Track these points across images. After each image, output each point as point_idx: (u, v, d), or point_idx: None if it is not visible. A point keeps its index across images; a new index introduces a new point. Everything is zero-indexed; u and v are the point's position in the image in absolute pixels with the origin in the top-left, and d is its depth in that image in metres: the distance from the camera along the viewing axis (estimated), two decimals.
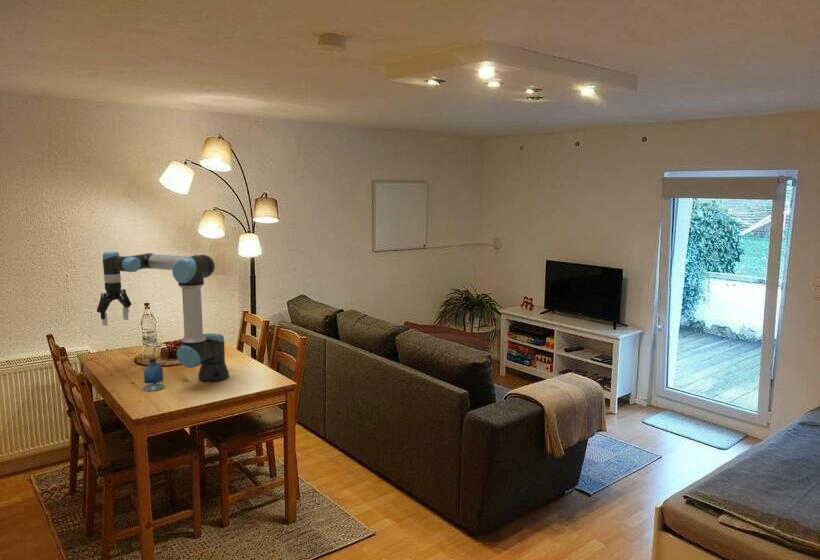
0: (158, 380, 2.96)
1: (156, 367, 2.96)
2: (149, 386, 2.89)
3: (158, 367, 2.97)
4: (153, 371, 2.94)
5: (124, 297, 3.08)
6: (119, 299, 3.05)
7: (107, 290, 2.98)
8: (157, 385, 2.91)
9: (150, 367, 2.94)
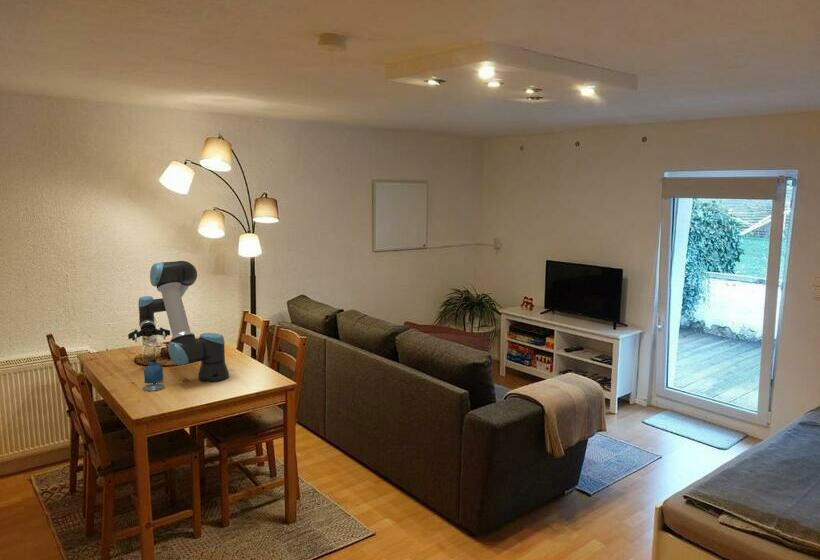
0: (158, 380, 2.96)
1: (156, 367, 2.96)
2: (149, 386, 2.89)
3: (158, 367, 2.97)
4: (153, 371, 2.94)
5: (162, 331, 3.16)
6: (155, 332, 3.14)
7: (140, 330, 3.17)
8: (157, 385, 2.91)
9: (150, 367, 2.94)
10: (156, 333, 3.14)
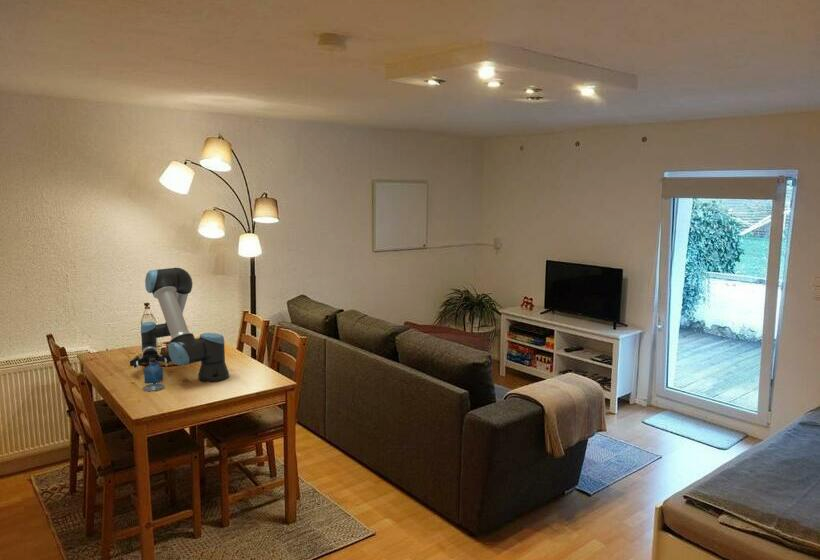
0: (158, 380, 2.96)
1: (156, 367, 2.96)
2: (149, 386, 2.89)
3: (158, 367, 2.97)
4: (153, 371, 2.94)
5: None
6: (157, 358, 3.13)
7: None
8: (157, 385, 2.91)
9: (150, 367, 2.94)
10: (158, 359, 3.13)
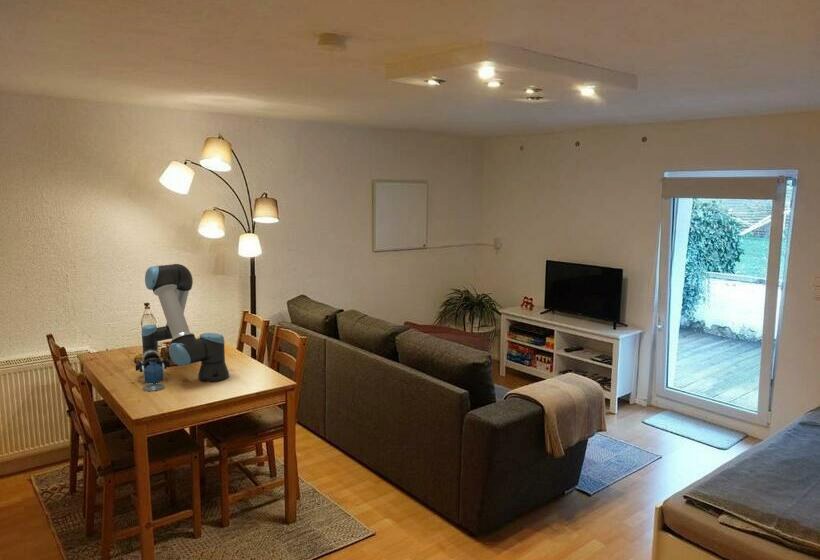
0: (158, 380, 2.96)
1: (156, 367, 2.96)
2: (149, 386, 2.89)
3: (158, 367, 2.97)
4: (153, 371, 2.94)
5: (164, 362, 3.06)
6: (157, 362, 3.05)
7: (143, 361, 3.07)
8: (157, 385, 2.91)
9: (150, 367, 2.94)
10: None
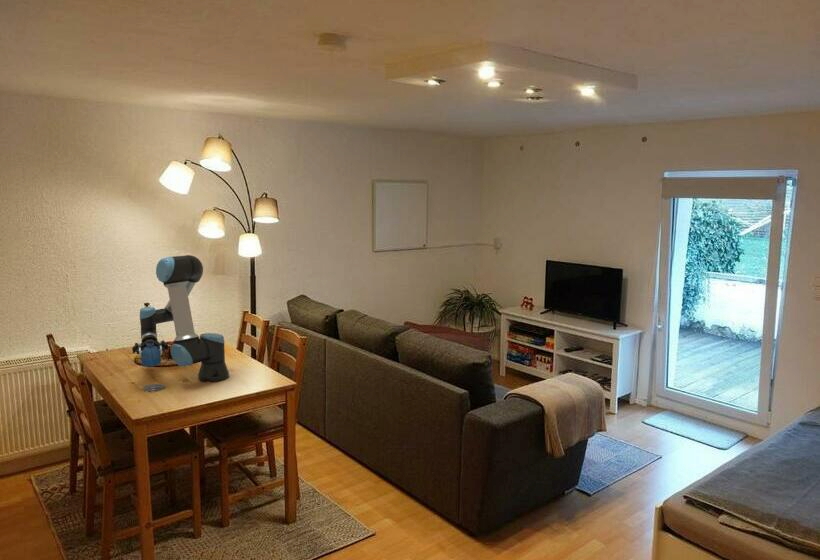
0: (155, 362, 2.86)
1: (153, 349, 2.86)
2: (149, 386, 2.89)
3: (155, 349, 2.87)
4: (151, 353, 2.84)
5: None
6: (155, 345, 2.95)
7: None
8: (157, 385, 2.91)
9: (147, 349, 2.84)
10: None
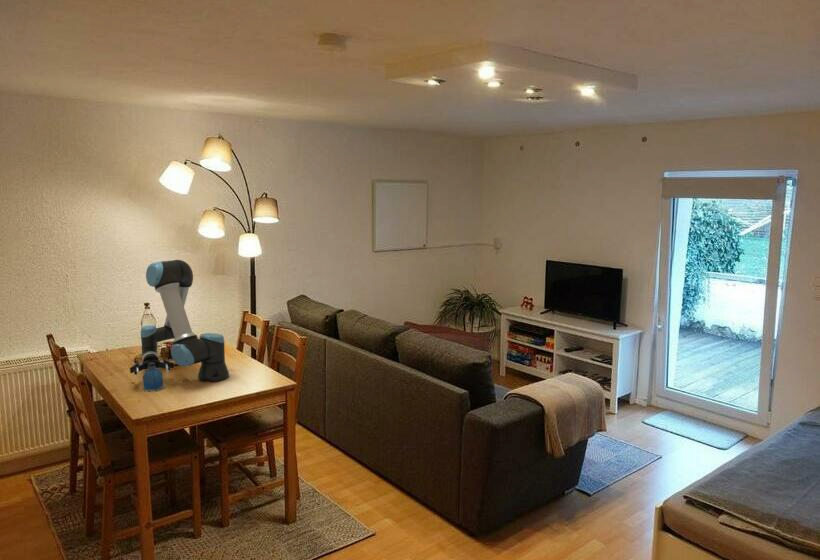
0: (157, 385, 2.87)
1: (155, 372, 2.86)
2: None
3: (157, 372, 2.87)
4: (153, 376, 2.84)
5: None
6: (158, 364, 2.95)
7: None
8: None
9: (149, 372, 2.85)
10: (159, 366, 2.95)
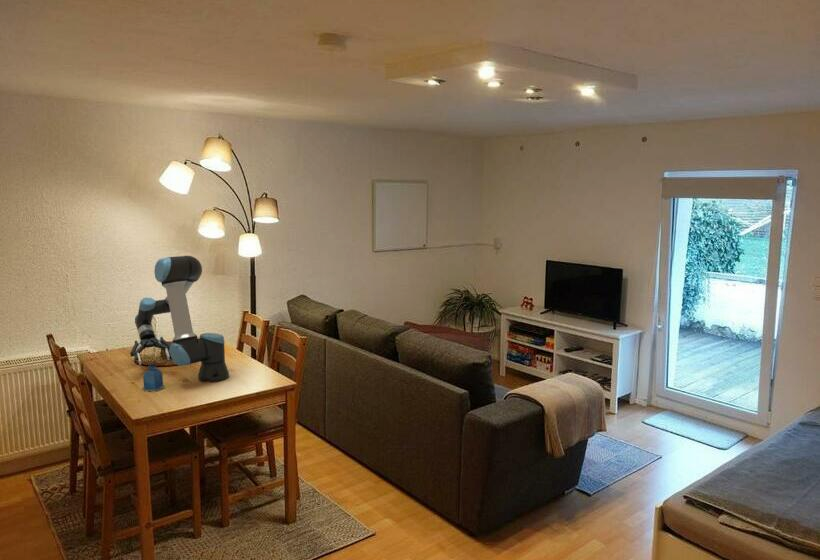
0: (158, 385, 2.87)
1: (156, 372, 2.86)
2: None
3: (158, 372, 2.87)
4: (153, 376, 2.84)
5: (164, 343, 3.12)
6: (157, 345, 3.09)
7: (140, 340, 3.10)
8: None
9: (149, 372, 2.85)
10: (157, 346, 3.10)
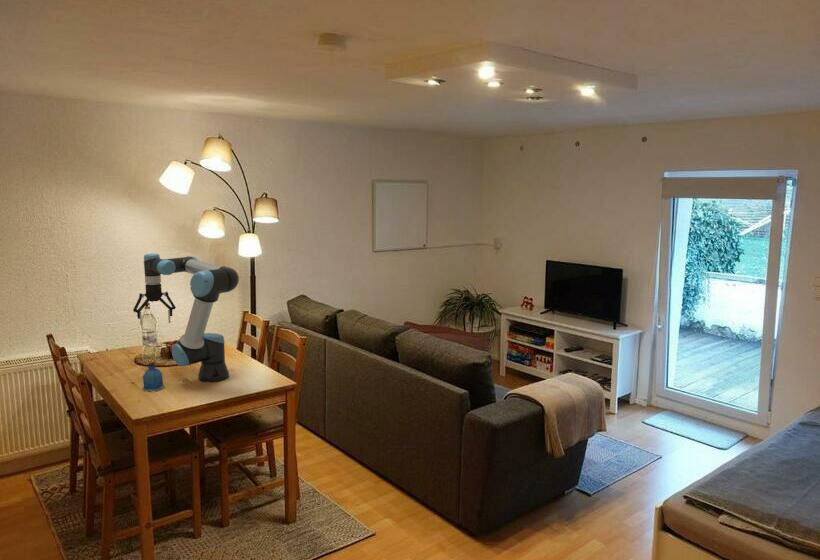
0: (158, 385, 2.87)
1: (155, 372, 2.86)
2: None
3: (157, 372, 2.87)
4: (153, 376, 2.84)
5: (168, 300, 3.08)
6: (161, 301, 3.07)
7: None
8: None
9: (149, 372, 2.85)
10: (161, 301, 3.08)
